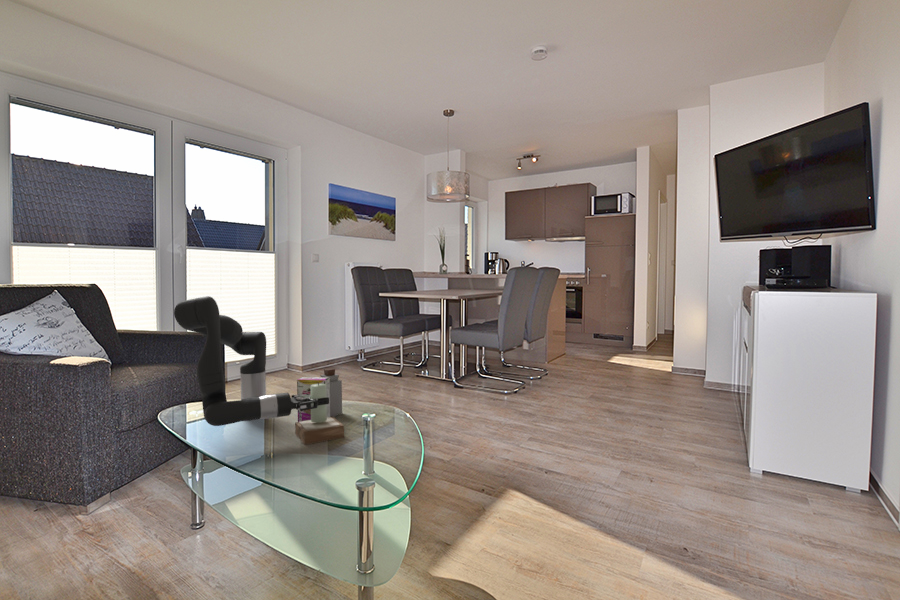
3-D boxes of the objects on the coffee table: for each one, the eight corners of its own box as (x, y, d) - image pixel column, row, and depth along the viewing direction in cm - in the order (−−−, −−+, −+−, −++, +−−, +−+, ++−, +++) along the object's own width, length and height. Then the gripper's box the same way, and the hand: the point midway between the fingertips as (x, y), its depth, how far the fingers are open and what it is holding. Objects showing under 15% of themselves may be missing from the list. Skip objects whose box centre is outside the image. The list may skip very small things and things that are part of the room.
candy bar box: (297, 422, 170) (296, 379, 169) (302, 419, 174) (301, 376, 174) (326, 423, 168) (325, 379, 168) (330, 419, 173) (330, 376, 173)
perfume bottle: (334, 410, 186) (333, 367, 185) (342, 414, 181) (341, 369, 180) (318, 414, 181) (317, 369, 180) (326, 417, 176) (325, 371, 175)
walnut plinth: (295, 433, 157) (295, 421, 157) (332, 427, 163) (332, 415, 163) (304, 444, 146) (304, 431, 145) (344, 437, 152) (343, 424, 152)
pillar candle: (309, 419, 155) (308, 381, 155) (324, 417, 158) (323, 380, 158) (313, 423, 151) (312, 384, 150) (328, 420, 153) (328, 382, 153)
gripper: (278, 398, 140) (332, 391, 149) (269, 390, 153) (320, 384, 162) (278, 422, 141) (332, 414, 150) (270, 412, 153) (320, 405, 162)
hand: (326, 398), depth 156 cm, fingers closed on pillar candle, 5 cm apart
